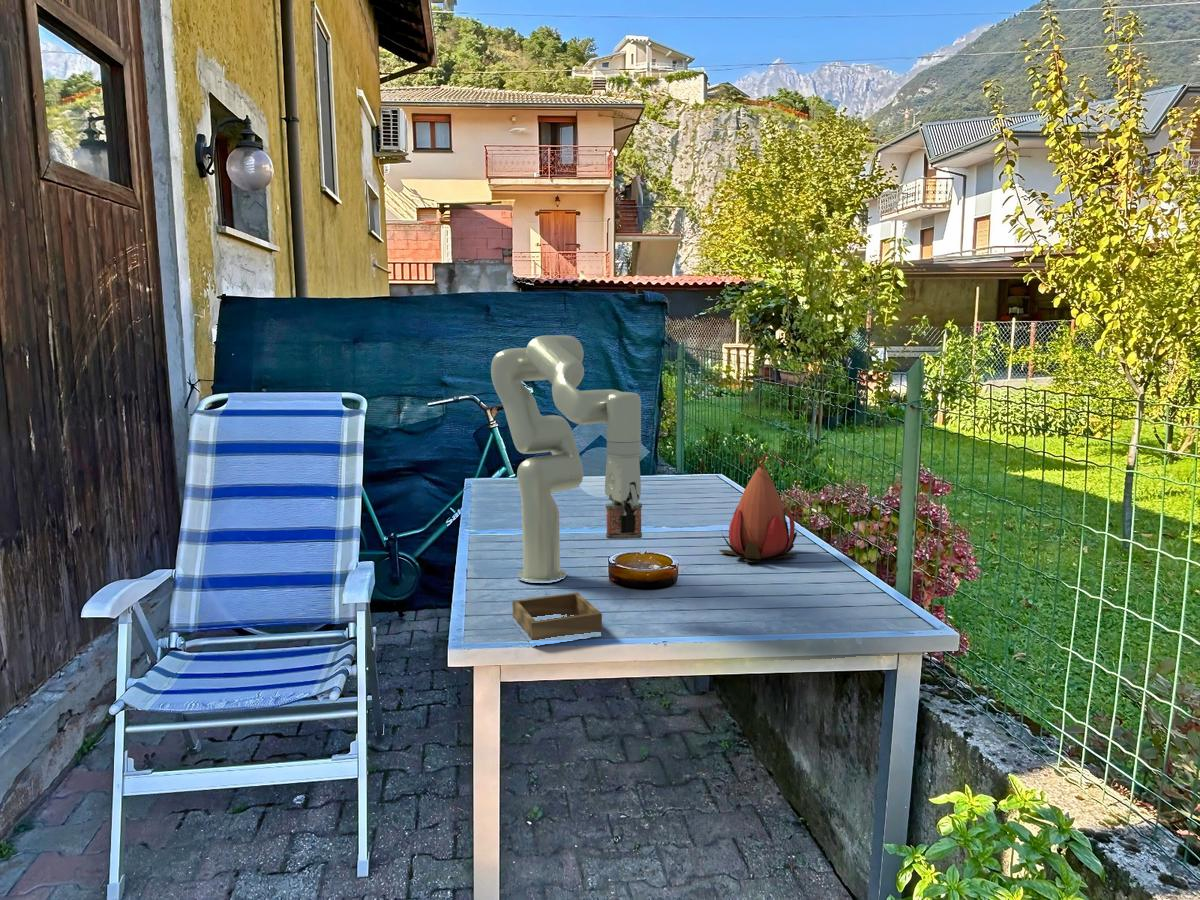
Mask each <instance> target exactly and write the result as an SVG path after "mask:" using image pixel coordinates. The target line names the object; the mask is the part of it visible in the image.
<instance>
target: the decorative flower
mask: <svg viewBox="0 0 1200 900" xmlns="http://www.w3.org/2000/svg"><path fill="white" fill-rule="evenodd" d="M751 452H752V453H755V454H756V456H755V458H754V462H753V467H754V468H755V467H757V466H756V459H757V458H758V461H759V466H758V467H757V469H756V470H755V471H754V473H753V474H752V476H751V478H750V480H749V481H748V483H747V485H746V486H745V489H744V490H743V493H742V495H741V497H740V499H739V502H738V505H737V506H736V508H735V511H734V512H733V516H732V518H731V520H730V524H729V529H728V540H727V539H726V537H725V536H724V535H723V534H722V532H721V536H722V538H723V540H724V541H725V542H726V544H727V546H728V547H729V550H728V549H718V551H719V552H721V553H723V554H726V555H727V554H728V555H734V556H736V557H739V558H743V561H745V562H749V563H757V562H758V563H759V562H762V559H769V560H770V559H771V560H776V559H788V558H792V557H793V558H794V557H796V556H798V554H797V553H793V552H792V553H789V552H790V551H791V550H793V548H794V546H795V544H794V542H795V540H797V539H796V538H797V533H798V532H797V531H796V532H795V529H796V527H795V519H794V515H793V514H792V511H791V510H790V509H789V508H788V506H787V505H785V510H786V513H785V510H784V506H783V503H782V499H781V498H780V496H779V492H778V490H777V487H776V486H775V484H774V481H773V480H772V477H771V475H770V474H769V472H768V471H767V468H766V467H764V466H765V462H766V459H767V457H768V456H770V454H774V455H775V462H779V458H778V455H779V457H780V458H781V459H780V460H781V466H782V467H783V466H784V461H783V456H782V455H781V454H780V453H779V452H777V451H774V450H773V449H770V450H768V451H766V452H765V453H764V455H762V456H761V458H760V456H759V454H758V453H757V452H755V451H754V450H747V451H746V452H744V454H743V455H742V457H741V458H740V463H741V464H743V462H744V460H743V459H744V457H745V455H746V454H747V453H751ZM768 452H769V453H768ZM767 453H768V454H767ZM777 454H778V455H777ZM765 456H766V457H765ZM786 514H787V516H788V517H786ZM786 518H788V520H789V524H788V522H787V519H786ZM788 525H789V526H788Z"/></svg>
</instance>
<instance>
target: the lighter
mask: <svg viewBox="0 0 1200 900" xmlns="http://www.w3.org/2000/svg"><path fill="white" fill-rule="evenodd" d="M608 500H610V501H611V500H613V499H612V498H611V494H610V495H609V497H608ZM625 501H631V500H630V498H627V499H626V500H625ZM628 505H630V504H626V508H627V506H628ZM642 508H643V504H642V503H640V502H639V506H638V507H637V508H636V515H635V532H631V533H621V515H623V514H622V502H621V503H618V502H617V501H614V503H605V509H606V533H605V539H607V540H634V539H642V538H643V532H642Z"/></svg>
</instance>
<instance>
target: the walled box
mask: <svg viewBox="0 0 1200 900" xmlns="http://www.w3.org/2000/svg"><path fill="white" fill-rule="evenodd" d="M553 614H561V615H565V614H567V617H564V616H563V617H561V618H554V619H547V620H540V621H535V620H534V619H533V618H532V617H537V616H545V615H553ZM570 615H574V616H570ZM513 618H514V619H515V620H516V621H517V623H518V624H519V625H520V626H521V627H522V629H523V630H524V631H525V632H526V633H527V634H528V636H529V637H530V638H531V640H539V639H545V638H551V637H557V636H565V635H574V634H584V633H591V632H601V631H602V632H603V613H602V612H601V611H599V610H598V609H597V608H596V606H594V605H592V603H591V602H589V601H588V599H586V598H585V597H583V595H581V594H580V593H579V592H571V593H564V594H563V593H561V594H554V595H547V596H539V597H532V598H525V599H516V600H512V619H513Z"/></svg>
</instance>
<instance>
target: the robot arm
mask: <svg viewBox="0 0 1200 900" xmlns="http://www.w3.org/2000/svg"><path fill="white" fill-rule="evenodd" d="M584 355H585V352H584V348H583V345H582V343H581V342H580V340H579V339H578V338H576V337H574V336H573V335H569V334H568V335H567V334H564V335H561V334H559V335H558V334H557V335H556V334H555V335H554V334H553V335H548V334H547V335H539V336H536V337H534V338H532V339H531V340H530V341H529V342H528V343H527V346H526V347H516V348H515V347H513V348H507V349H503V350H500V351H499V352H497V353H495V355H494V356H493V358H492V360H491V365H490V377H491V381H492V385H493V387H494V390H495V392H496V394H497V396H498V398H499V400H500V402H501V405H502V407H503V410H504V412H505V417H506V421H507V425H508V427H509V431H510V436H511V438H512V442H513V444H514V447H515V449H516V451H518V452H519V453H520V454H524V455H527V454H529V455H531V454H541V453H549V452H550V453H551V454H550V455H548V454H547V455H541V456H540V455H539V456H533V457H529V458H526V459H525V460H523V461H522V462H520V464H519V465H518V468H517V470H516V471H517V472H516V477H517V484H518V489H519V493H520V501H521V520H522V521H521V524H522V525H521V529H522V569H521V570H520V571H519V572H523V573H518V572H517V574H518V576H519V577H521V578H522V579H525V580H529V581H551V580H557V579H560V578H563V577H564V576H566V577H567V571H566V570H564V569H562V568H561V543H560V541H561V539H560V538H561V536H560V534H561V533H560V531H561V529H560V509H559V505H557V502H556V501H555V500H554V498H553V496H552V494H553V493H556V492H563V491H570V490H574V489H576V488H578V487H580V486H581V484H582V482H583V479H584V469H583V463H582V460H581V456H580V453H579V450H578V447H577V443H576V439H575V436H574V432H573V430H572V427H571V425H570V424H569V421H570V422H572V423H573V424H575V425H581V426H582V425H593V424H594V425H595V424H606V456H607V457H606V463H605V464H606V465H605V481H604V494H605V496H607V497H608V498H609V495H610V494H611V498H612V499H613V500H610V501H611V502H612V503H614V501H617V502H618V503H621V502H622V514H623V515H621V533H631V532H635V515H636V508H637V507H638V506H639V503H640V501H639V500H640V499H641V495H642V494H641V491H642V489H641V486H642V485H641V482H642V481H641V465H640V458H639V457H641V455H642V454H641V452H642V446H641V445H642V419H641V418H642V401H641V400H642V399H641V396H640V395H639V394H638V393H636V392H630V391H620V390H617V389H613V388H612V389H611V388H610V389H590V390H587V389H586V390H580V389H577V388H578V386H579V385H580V384H581V382H582V380H583V379H584V376H585V367H584V365H583V360H584ZM529 381H530V382H532V381H533V382H534V381H535V382H537V381H548V382H549V383H550V384H551V395H552V400H553V402H554V405H555V408H556V409H557V410H558V411H559V412H560V413H561V414H562V415H563V416H564V417H565V418H566V419H568V421H567V420H566V419H565V418H564V417H563V416H562V415H561V416H560V415H554V414H553V415H551V414H550V415H542V414H541V412H540V410H539V407H538V404H537V400H536V398H535V397H534V395H533V394H532V393H531V391H530V390H529V389H528V388H527V387H526V386H525V385H523V384H522V382H529ZM627 498H630V501H625V500H626V499H627ZM626 504H630V505H628V506H627V508H626ZM526 578H528V579H526Z"/></svg>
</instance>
